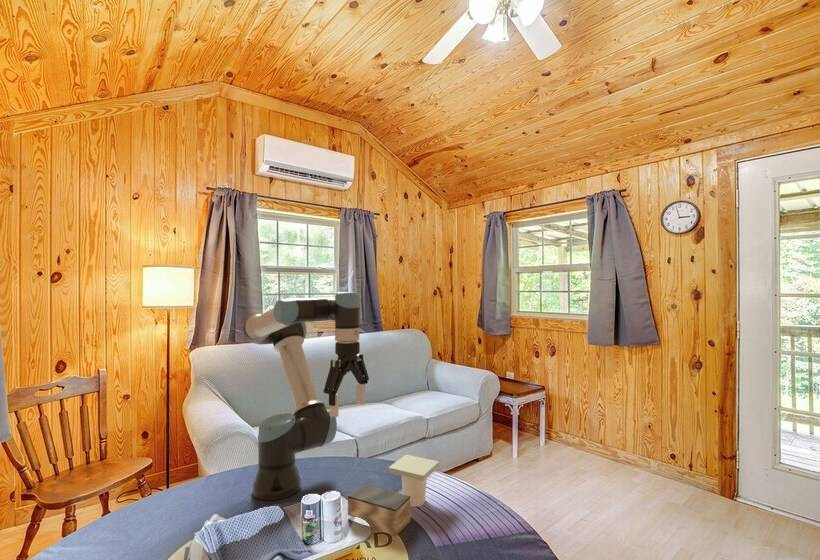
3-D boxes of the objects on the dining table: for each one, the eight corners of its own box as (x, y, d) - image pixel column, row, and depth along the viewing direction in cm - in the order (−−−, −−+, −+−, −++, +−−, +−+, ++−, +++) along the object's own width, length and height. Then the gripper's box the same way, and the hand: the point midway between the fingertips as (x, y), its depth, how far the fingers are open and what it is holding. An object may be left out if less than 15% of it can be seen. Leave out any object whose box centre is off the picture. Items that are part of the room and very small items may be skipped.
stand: (347, 520, 119) (347, 495, 119) (363, 507, 126) (363, 484, 126) (396, 536, 111) (396, 509, 111) (410, 521, 118) (410, 496, 118)
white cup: (427, 495, 132) (427, 464, 132) (426, 508, 124) (425, 475, 125) (403, 494, 133) (402, 463, 133) (400, 507, 125) (399, 474, 125)
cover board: (388, 472, 127) (388, 467, 127) (406, 459, 137) (406, 454, 137) (423, 480, 121) (423, 475, 121) (439, 466, 131) (439, 461, 131)
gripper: (331, 347, 117) (331, 423, 116) (379, 337, 139) (379, 401, 138) (311, 346, 120) (311, 419, 120) (360, 336, 142) (360, 398, 142)
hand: (347, 409), depth 129 cm, fingers open, 13 cm apart
